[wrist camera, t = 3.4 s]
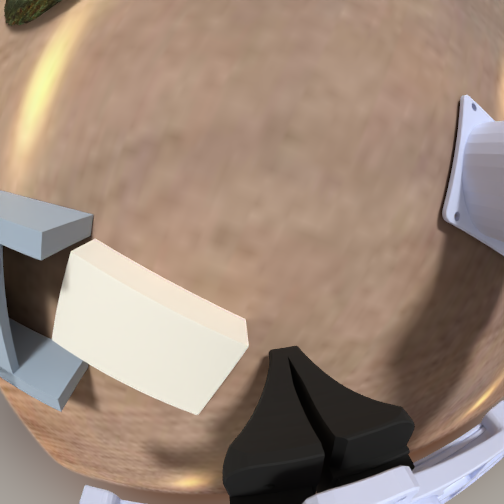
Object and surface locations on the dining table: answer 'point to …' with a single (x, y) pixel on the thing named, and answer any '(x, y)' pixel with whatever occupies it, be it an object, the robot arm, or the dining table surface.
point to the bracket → (15, 334)
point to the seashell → (25, 10)
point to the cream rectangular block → (145, 328)
